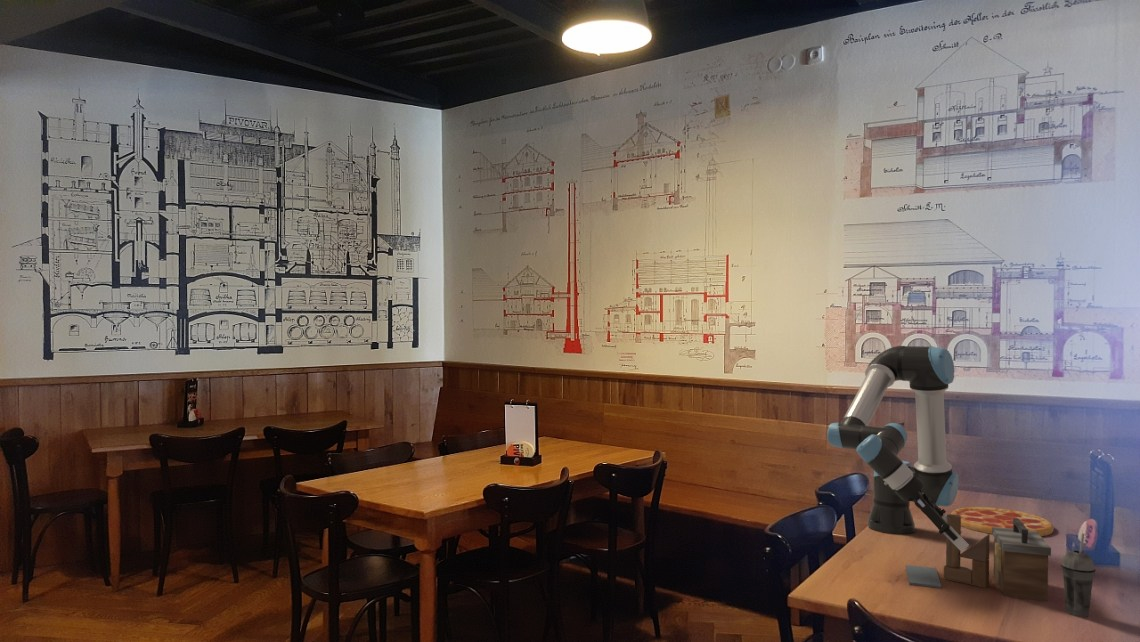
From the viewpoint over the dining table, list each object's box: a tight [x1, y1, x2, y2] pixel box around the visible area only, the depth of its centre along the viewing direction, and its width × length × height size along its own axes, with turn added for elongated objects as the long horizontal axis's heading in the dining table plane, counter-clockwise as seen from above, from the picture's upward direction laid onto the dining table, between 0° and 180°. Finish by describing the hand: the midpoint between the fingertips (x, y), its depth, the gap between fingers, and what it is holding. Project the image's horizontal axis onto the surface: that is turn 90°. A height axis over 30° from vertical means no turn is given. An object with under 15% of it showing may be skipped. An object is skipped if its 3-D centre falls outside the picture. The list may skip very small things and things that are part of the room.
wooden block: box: [943, 513, 991, 589], centre depth 214 cm, size 4×11×18 cm, turn 49°
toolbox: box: [991, 518, 1052, 602], centre depth 209 cm, size 17×11×18 cm, turn 160°
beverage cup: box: [1060, 533, 1096, 618], centre depth 191 cm, size 7×7×20 cm
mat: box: [905, 564, 943, 589], centre depth 217 cm, size 16×8×1 cm, turn 160°
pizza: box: [950, 506, 1055, 538], centre depth 273 cm, size 32×32×3 cm
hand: (961, 541), depth 213 cm, fingers open, 13 cm apart
